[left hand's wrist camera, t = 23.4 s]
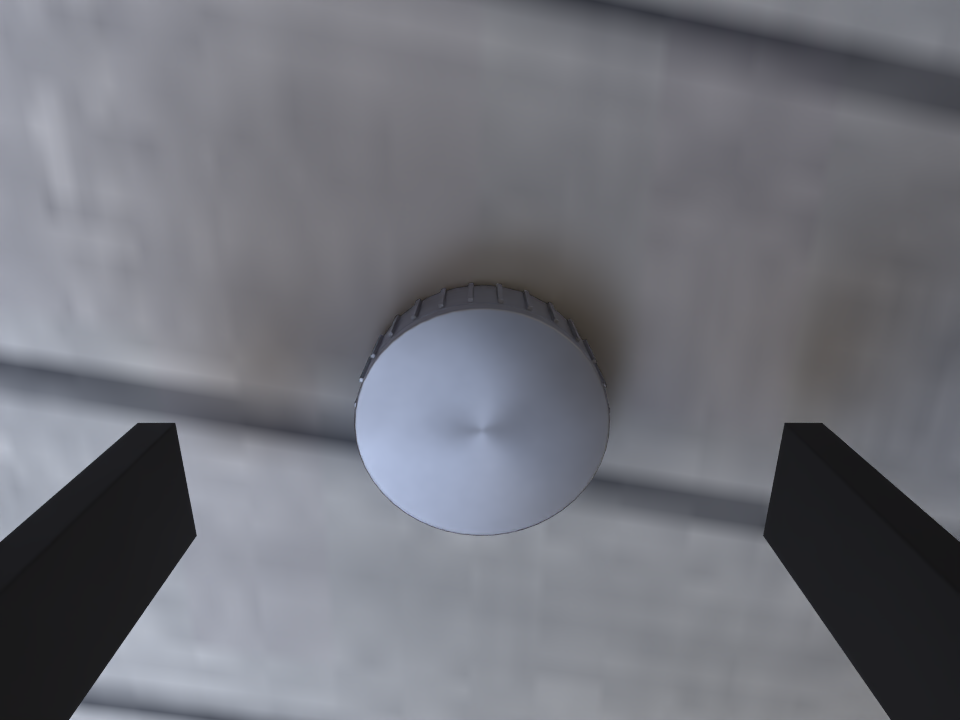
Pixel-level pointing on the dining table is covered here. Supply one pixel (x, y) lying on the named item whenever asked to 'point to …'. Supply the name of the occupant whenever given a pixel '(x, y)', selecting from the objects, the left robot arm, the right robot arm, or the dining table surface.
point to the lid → (482, 411)
